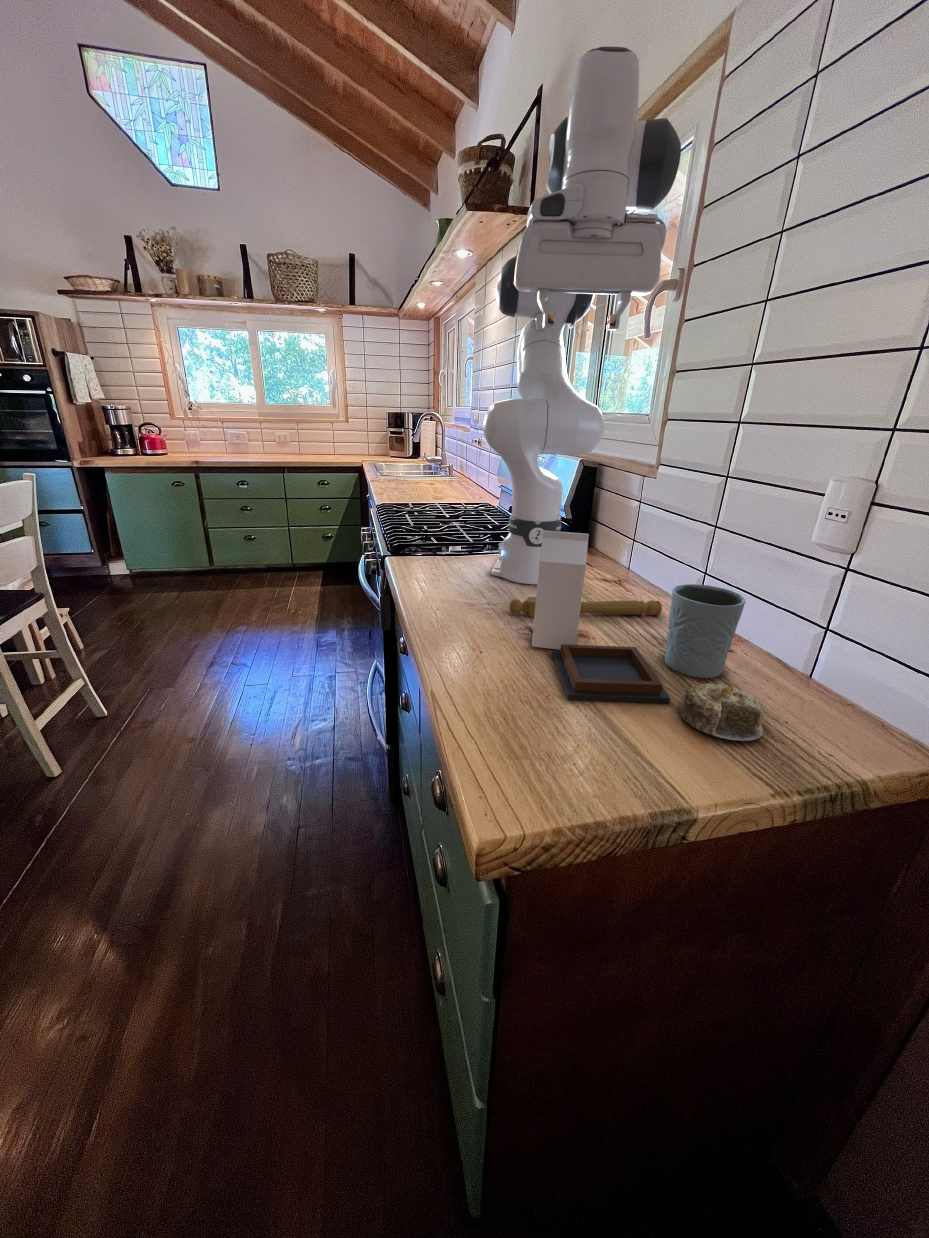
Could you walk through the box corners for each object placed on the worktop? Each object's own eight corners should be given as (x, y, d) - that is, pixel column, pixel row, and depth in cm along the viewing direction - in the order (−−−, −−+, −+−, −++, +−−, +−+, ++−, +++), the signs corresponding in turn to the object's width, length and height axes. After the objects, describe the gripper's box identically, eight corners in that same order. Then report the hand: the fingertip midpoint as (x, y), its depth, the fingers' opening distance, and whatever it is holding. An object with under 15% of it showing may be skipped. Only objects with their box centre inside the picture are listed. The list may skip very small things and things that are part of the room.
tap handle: (664, 603, 96) (511, 602, 94) (661, 618, 97) (509, 617, 95) (657, 597, 99) (508, 596, 97) (654, 612, 100) (507, 611, 98)
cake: (661, 709, 68) (667, 673, 66) (721, 701, 70) (728, 666, 69) (715, 748, 59) (724, 707, 57) (782, 737, 61) (792, 698, 60)
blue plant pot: (694, 685, 73) (713, 609, 68) (644, 656, 81) (658, 587, 77) (741, 672, 77) (761, 600, 72) (689, 646, 85) (704, 580, 81)
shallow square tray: (552, 654, 81) (553, 641, 80) (637, 657, 81) (640, 644, 80) (567, 699, 68) (569, 685, 67) (669, 703, 68) (672, 688, 67)
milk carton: (574, 652, 82) (589, 539, 75) (531, 647, 83) (541, 535, 76) (574, 635, 88) (588, 529, 81) (534, 630, 90) (544, 526, 82)
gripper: (660, 222, 71) (644, 333, 76) (516, 218, 71) (510, 329, 76) (677, 205, 65) (658, 327, 70) (520, 201, 65) (513, 322, 70)
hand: (580, 328), depth 73 cm, fingers open, 8 cm apart
